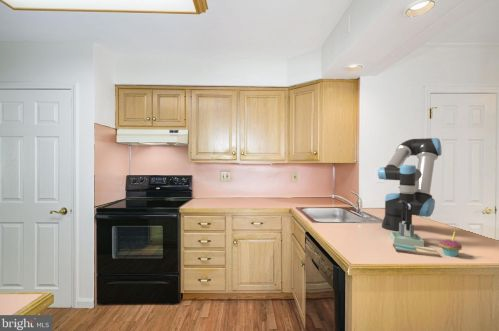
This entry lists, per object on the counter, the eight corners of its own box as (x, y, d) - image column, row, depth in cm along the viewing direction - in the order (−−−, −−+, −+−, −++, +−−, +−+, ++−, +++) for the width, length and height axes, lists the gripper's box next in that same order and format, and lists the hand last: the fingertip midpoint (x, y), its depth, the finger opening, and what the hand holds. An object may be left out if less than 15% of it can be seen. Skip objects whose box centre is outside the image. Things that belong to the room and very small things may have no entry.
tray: (390, 236, 152) (390, 231, 152) (416, 239, 147) (417, 233, 147) (394, 243, 139) (394, 237, 139) (423, 246, 134) (423, 240, 134)
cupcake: (451, 251, 127) (452, 227, 127) (466, 258, 119) (467, 232, 118) (434, 251, 127) (435, 227, 127) (448, 258, 118) (449, 232, 118)
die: (398, 232, 147) (399, 222, 146) (410, 234, 144) (411, 223, 144) (400, 235, 141) (401, 224, 141) (413, 237, 139) (413, 225, 139)
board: (392, 245, 136) (392, 242, 136) (432, 249, 130) (432, 247, 130) (396, 252, 126) (396, 249, 126) (440, 257, 120) (440, 254, 120)
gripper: (396, 190, 152) (395, 229, 153) (402, 194, 135) (401, 238, 135) (410, 191, 150) (409, 230, 150) (419, 195, 132) (418, 240, 133)
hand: (406, 234), depth 143 cm, fingers closed on die, 6 cm apart
